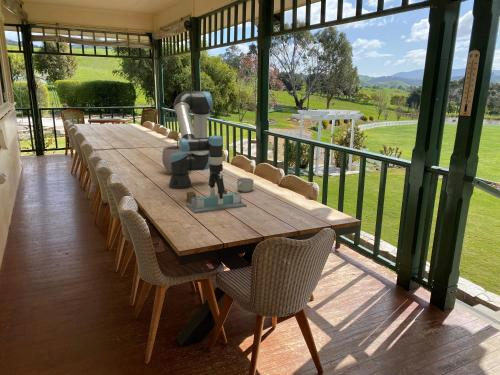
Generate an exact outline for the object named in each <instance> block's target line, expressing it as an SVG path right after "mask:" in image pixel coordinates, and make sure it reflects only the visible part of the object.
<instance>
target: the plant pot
mask: <svg viewBox="0 0 500 375" xmlns="http://www.w3.org/2000/svg"><path fill="white" fill-rule="evenodd" d="M173 137H174V139H175V142H176V144H177V145H167V146H164V147H163V149H162V150H163V151H162V155H161V156H162V159H161V160H162V165H163V166H164V168H165V170H166V171H168V172H169V173H170V174H171V162H170V161H171V155H172V154H174V153H177V152H182V151H180V148H179V140H180V139H181V137H178V135H176V137H177V138H176V137H175V136H173ZM188 154H191V152H188Z"/></svg>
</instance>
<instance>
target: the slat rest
mask: <svg viewBox="0 0 500 375" xmlns="http://www.w3.org/2000/svg"><path fill="white" fill-rule="evenodd" d="M224 190H225V192H224V193H223V195H224V194H228V190H227V189H226V188H224ZM221 191H222V190H221ZM191 197H197V194H196V193H195V192H194V191H187V192H186V201H187V202H188V204H191Z"/></svg>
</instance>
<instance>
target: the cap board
mask: <svg viewBox="0 0 500 375" xmlns="http://www.w3.org/2000/svg"><path fill="white" fill-rule="evenodd" d="M186 207H187V208H189V210H190V211H191V212H192V213H193V214H201V213H202V214H203V213H209V212H214V211H215V212H216V211H224V210H230V209H237V208H245V207H247V204H246V203H245V202H243V201H241V203H239V204H232V203H231V204H223V205H216V206H208V207H204V208H202V209H194V208H193V207H192V206H191V203H187V204H186Z"/></svg>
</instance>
